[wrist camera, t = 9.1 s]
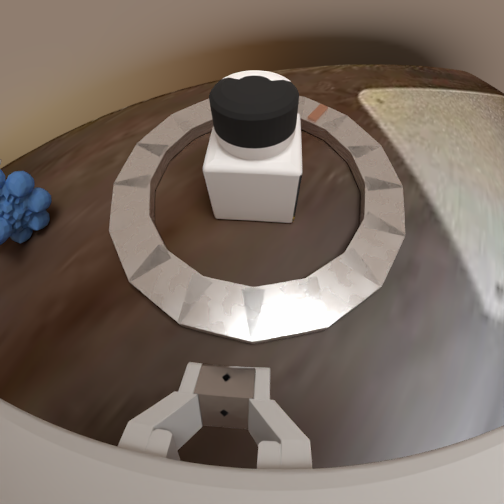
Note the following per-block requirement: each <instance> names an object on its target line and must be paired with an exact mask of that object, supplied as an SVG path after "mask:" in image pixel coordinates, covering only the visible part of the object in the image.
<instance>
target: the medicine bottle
mask: <svg viewBox="0 0 504 504" xmlns="http://www.w3.org/2000/svg"><path fill="white" fill-rule="evenodd" d="M209 101H210V107H211V114H212V120H213V128H212V132H211V136H210V140H209V144H208V148H207V152H206V156H205V160H204V164H203V173H204V177H205V181H206V185H207V189H208V193H209V197H210V201H211V205H212V209H213V213H214V216H215V217H216V218H217V219H230V220H249V221H266V222H282V223H292V222H293V221H294V217H295V211H296V206H297V200H298V195H299V189H300V183H301V177H302V146H301V120H300V114H299V113H298V104H299V93H298V90H297V88H296V87H295V86H294V85H293V84H292V83H291V82H290V81H289V80H288V79H286V78H285V77H283V76H281V75H279V74H276V73H272V72H268V71H258V70H254V71H253V70H251V71H242V72H238V73H234V74H231V75H229V76H227V77H225V78H223V79H222V80H220V81H219V82H218V83H217V84H216V85H215V86H214V87H213V89H212V90H211V92H210V95H209Z"/></svg>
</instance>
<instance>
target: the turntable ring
mask: <svg viewBox="0 0 504 504" xmlns="http://www.w3.org/2000/svg"><path fill="white" fill-rule="evenodd" d="M298 113H299V114H300V120H301V129H302V130H304V131H306V132H308V133H310V134H313V135H315V136H317V137H319V138H321V139H323V140H324V141H325V142H327V143H328V144H329V145H330V146H331V147H332V148H333V149H334V150H335V151H336V152H337V153H338V154H339V155H340V156H341V157H342V158H343V159H344V160H345V161H346V162H347V163H348V165H349V167H350V169H351V171H352V174H353V176H354V178H355V180H356V183H357V185H358V187H359V190H360V192H361V204H360V225H359V229H358V230H357V232H356V234H355V236H354V237H353V239H352V241H351V242H350V244H349V246H348V248H347V249H346V251H345V253H343V254H342V255H340V256H339V257H337V258H336V259H334V260H333V261H331V262H330V263H328V264H327V265H325V266H323V267H322V268H320V269H319V270H317V271H316V272H314V273H313V274H311V275H310V276H308V277H307V278H304V279H299V280H293V281H288V282H282V283H276V284H271V285H265V286H259V287H250V286H245V285H241V284H236V283H231V282H227V281H222V280H218V279H213V278H209V277H204V276H202V275H201V274H199V273H198V272H197V271H195V270H194V269H192V268H191V267H190V266H188V265H187V264H186V263H184V262H183V261H181V260H180V259H179V258H177V257H176V256H175V255H173V254H172V253H171V252H169V251H168V250H167V248H166V246H165V244H164V242H163V240H162V238H161V236H160V234H159V232H158V230H157V228H156V226H155V189H156V187H157V185H158V183H159V181H160V179H161V177H162V175H163V173H164V171H165V169H166V167H167V165H168V163H169V161H170V160H171V159H172V158H173V157H174V156H176V155H177V154H178V153H179V152H180V151H181V150H182V149H183V148H184V147H185V146H186V145H188V144H189V143H190V142H191V141H192V140H193V139H195V138H197V137H199V136H201V135H203V134H206V133H208V132H210V131H212V128H213V120H212V114H211V107H210V101H209V99H207V100H204V101H202V102H199V103H197V104H194V105H192V106H190V107H187V108H185V109H183V110H181V111H178V112H176V113H174V114H172V115H170V116H169V117H168V118H167V119H165V120H164V121H163V122H162V123H161V124H159V125H158V126H157V127H156V128H155V129H153V130H152V131H151V132H150V133H149V134H148V135H146V136H145V137H144V138H143V139H142V140H141V141H139V142H138V143H137V144H136V146H135V148H134V149H133V151H132V153H131V154H130V156H129V158H128V159H127V161H126V163H125V165H124V166H123V168H122V170H121V172H120V174H119V175H118V177H117V179H116V181H115V183H114V187H113V196H112V205H111V215H110V227H109V233H110V235H111V237H112V240H113V243H114V245H115V248H116V250H117V253H118V256H119V258H120V261H121V263H122V265H123V268H124V270H125V273H126V275H127V277H128V281H129V282H130V283H131V284H132V285H133V286H134V287H135V288H137V289H138V290H140V291H141V292H142V293H143V294H144V295H145V296H147V297H148V298H149V299H150V300H151V301H152V302H154V303H155V304H156V305H157V306H158V307H160V308H161V309H162V310H163V311H164V312H166V313H167V314H168V315H169V316H171V317H172V318H173V319H174V320H175V321H177V323H178V324H180V325H181V326H182V327H184V328H189V329H193V330H196V331H200V332H204V333H208V334H212V335H216V336H220V337H224V338H228V339H232V340H237V341H241V342H245V343H250V344H257V343H263V342H269V341H274V340H279V339H285V338H290V337H295V336H300V335H305V334H310V333H314V332H319V331H324V330H326V329H327V328H328V327H329V326H330V325H332V324H333V323H335V322H336V321H337V320H339V319H340V318H341V317H343V316H344V315H346V314H347V313H348V312H350V311H351V310H352V309H354V308H355V307H356V306H358V305H359V304H360V303H362V302H363V301H364V300H365V299H367V298H368V297H369V296H371V295H372V294H373V293H375V292H376V291H377V290H378V289H380V288H381V286H382V284H383V282H384V280H385V278H386V276H387V274H388V272H389V270H390V268H391V266H392V263H393V261H394V259H395V257H396V255H397V253H398V250H399V248H400V246H401V244H402V241H403V239H404V237H405V235H406V234H405V216H404V199H403V186H402V184H401V182H400V180H399V178H398V176H397V174H396V172H395V170H394V169H393V167H392V165H391V163H390V161H389V159H388V157H387V155H386V154H385V152H384V150H383V148H382V146H381V145H380V144H379V143H378V142H377V141H375V140H374V139H373V138H372V137H371V136H370V135H369V134H368V133H367V132H365V131H364V130H363V129H362V128H361V127H360V126H359V125H357V124H356V123H355V122H354V121H353V120H352V119H350V118H349V117H348V116H347V115H345V114H342V113H340V112H338V111H336V110H334V109H332V108H329V107H327V106H325V105H322V104H320V103H318V102H315V101H313V100H311V99H308V98H306V97H301V96H299V104H298Z"/></svg>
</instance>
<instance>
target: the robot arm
mask: <svg viewBox="0 0 504 504" xmlns="http://www.w3.org/2000/svg"><path fill="white" fill-rule="evenodd" d="M0 164H1V159H0ZM255 373H256V374H255ZM202 425H203V426H214V427H227V428H236V429H248V431H249V433H250V434H251V436H252V437H253V439H254V441H255V442H256V444H257V445H258V457H257V468H256V469H249V468H234V467H223V466H213V465H205V464H198V463H191V462H185V461H181V460H180V457H179V454H178V451H177V450H179V449H180V448H181V447H182V446H183V445H184V444H185V443H186V442H187V441H188V440H189V439H190V438H191V437H192V436H193V435H194V434H195V433H196V432H197V431H198V430H199V429H200V428H202ZM0 504H504V426H501V427H499V428H497V429H494V430H492V431H489V432H487V433H484V434H481V435H479V436H476V437H473V438H470V439H468V440H465V441H462V442H459V443H456V444H452V445H449V446H446V447H442V448H439V449H435V450H431V451H428V452H424V453H420V454H415V455H411V456H406V457H402V458H397V459H391V460H386V461H380V462H374V463H367V464H360V465H351V466H342V467H331V468H316V469H312V457H311V446H310V440H309V439H308V438H307V436H306V435H305V434H304V433H303V432H302V431H301V430H300V429H299V428H298V427H297V425H296V424H295V423H294V422H293V421H292V420H291V419H290V418H289V417H288V415H287V414H286V413H285V412H284V411H283V410H282V409H281V407H280V406H279V405H278V404H277V403H276V402H275V401H274V400H270V368H263V367H236V366H223V365H213V364H204V363H203V364H202V363H194V362H189V363H188V364H187V367H186V370H185V373H184V376H183V379H182V382H181V384H180V387H179V390H178V392H175V391H174V392H173V393H171V394H170V395H168V396H167V397H165V398H164V399H162V400H161V401H159V402H158V403H156V404H155V405H153V406H152V407H150V408H149V409H147V410H146V411H144V412H142V413H141V414H139V415H138V416H136V417H135V418H133V419H132V420H130V421H128V424H127V426H126V428H125V430H124V433H123V435H122V437H121V440H120V442H119V444H118V446H114V445H110V444H107V443H104V442H101V441H98V440H94V439H91V438H88V437H86V436H83V435H80V434H77V433H74V432H72V431H69V430H67V429H64V428H61V427H59V426H57V425H54V424H52V423H49V422H47V421H45V420H43V419H40V418H38V417H36V416H34V415H32V414H30V413H27V412H25V411H23V410H21V409H19V408H17V407H15V406H14V405H12V404H10V403H8V402H6V401H4V400H2V399H1V398H0Z"/></svg>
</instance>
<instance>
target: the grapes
mask: <svg viewBox="0 0 504 504" xmlns="http://www.w3.org/2000/svg"><path fill="white" fill-rule="evenodd" d="M50 204H51V195H50V194H49V193H48V191H46V190H44V189H42V188H34V179H33V178H32V176H31V175H30V174H28V173H26V172H24V171H16V172H13V173H12V174H10V175H9V176H8V178H7V180H6V182H5V174H4V173H3V172H2V170H1V169H0V245H1V244H3V243H4V242H5V241H6V240H7V239H8V238H9V237H10V238H11V239H12V240H13V241H15V242H17V243H23V242H25V241H27V240H28V239H29V238H30V237H31V235H32V233H33V231H32V230H41V229H43V228H44V227H45V226H47V225H48V223H49V220H50V217H49V213H48V212H47V211H46V209H47V208H49V206H50Z"/></svg>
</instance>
